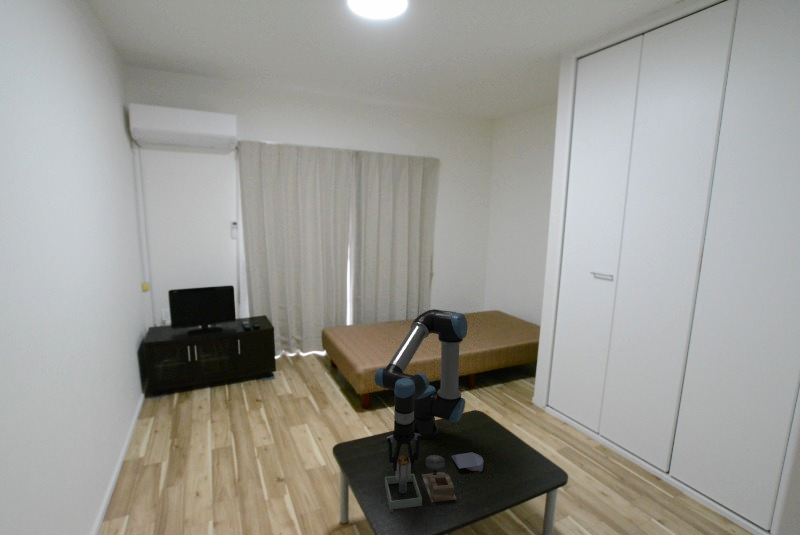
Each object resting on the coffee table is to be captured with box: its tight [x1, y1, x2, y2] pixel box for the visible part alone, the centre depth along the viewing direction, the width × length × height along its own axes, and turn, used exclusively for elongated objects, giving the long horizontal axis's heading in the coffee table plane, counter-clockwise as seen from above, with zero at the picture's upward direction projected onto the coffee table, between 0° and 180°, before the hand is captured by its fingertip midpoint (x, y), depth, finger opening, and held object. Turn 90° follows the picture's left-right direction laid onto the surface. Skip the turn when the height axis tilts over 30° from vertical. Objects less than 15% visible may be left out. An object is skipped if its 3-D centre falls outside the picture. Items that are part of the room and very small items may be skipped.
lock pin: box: [398, 455, 410, 494], centre depth 144 cm, size 4×4×13 cm
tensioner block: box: [421, 454, 457, 503], centre depth 149 cm, size 17×10×9 cm, turn 10°
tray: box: [384, 473, 423, 513], centre depth 144 cm, size 14×12×4 cm
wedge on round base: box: [451, 452, 484, 473], centre depth 163 cm, size 9×7×13 cm
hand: (402, 477), depth 144 cm, fingers closed on lock pin, 4 cm apart
